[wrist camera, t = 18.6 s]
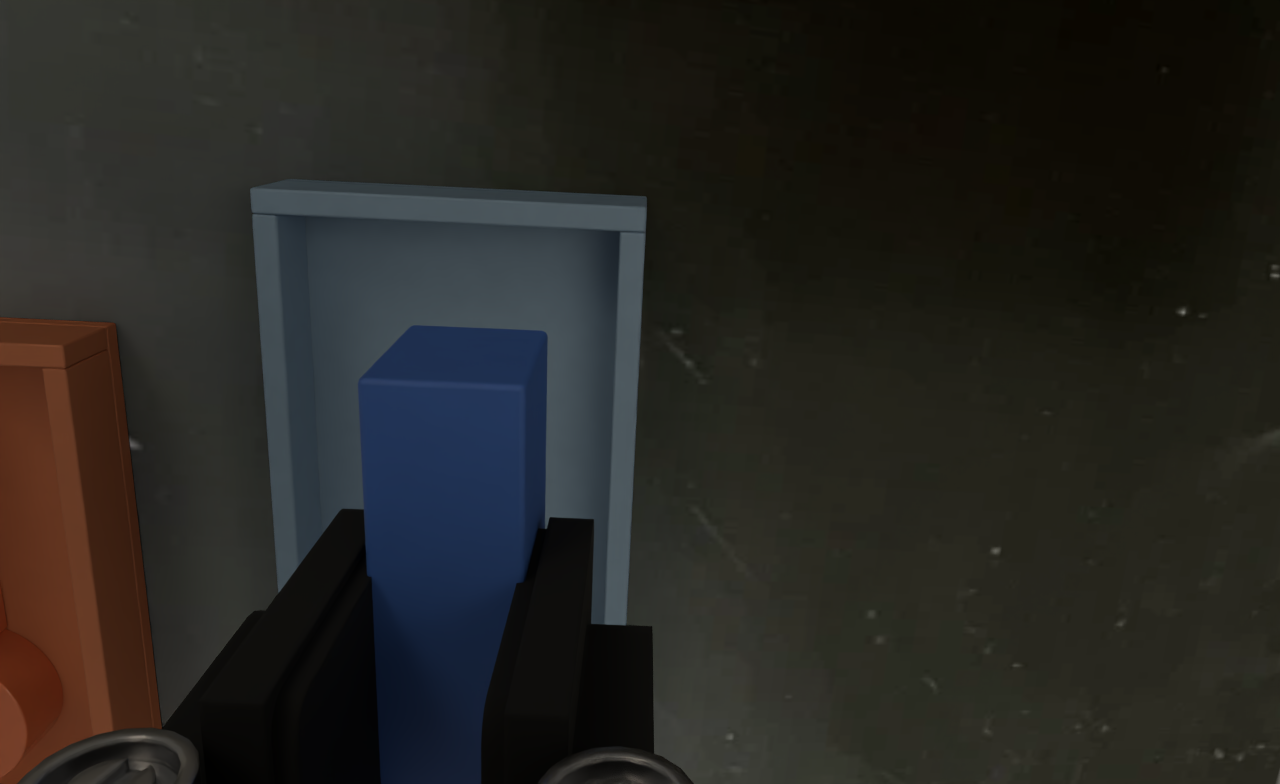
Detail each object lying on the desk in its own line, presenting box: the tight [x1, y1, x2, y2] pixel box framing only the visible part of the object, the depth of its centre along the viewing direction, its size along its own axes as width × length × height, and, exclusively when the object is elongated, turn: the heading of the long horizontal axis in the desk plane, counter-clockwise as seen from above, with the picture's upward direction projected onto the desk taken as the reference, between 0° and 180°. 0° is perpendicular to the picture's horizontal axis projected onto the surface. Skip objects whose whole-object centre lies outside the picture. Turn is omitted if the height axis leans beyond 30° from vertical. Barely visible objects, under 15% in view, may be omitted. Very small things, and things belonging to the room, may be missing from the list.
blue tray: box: [250, 179, 647, 625], centre depth 26 cm, size 15×9×2 cm, turn 177°
